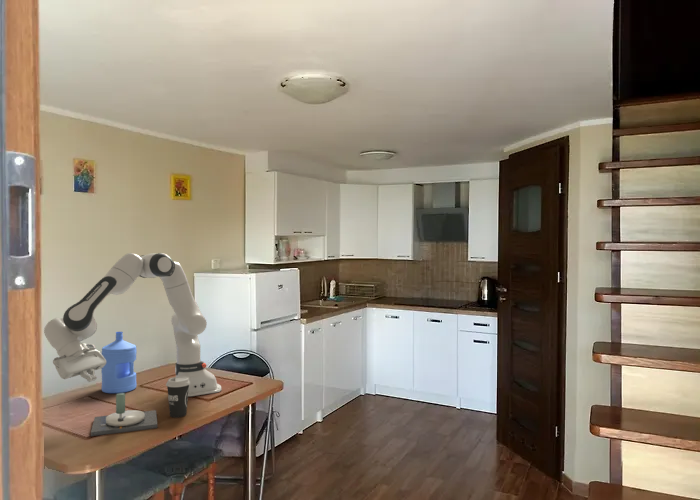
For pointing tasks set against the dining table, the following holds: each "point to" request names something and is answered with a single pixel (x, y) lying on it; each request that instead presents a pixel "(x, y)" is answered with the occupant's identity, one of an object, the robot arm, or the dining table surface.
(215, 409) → the dining table surface
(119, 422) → the dial
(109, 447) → the dining table surface
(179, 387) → the coffee cup
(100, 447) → the dining table surface
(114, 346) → the water jug
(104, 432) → the dial base plate
